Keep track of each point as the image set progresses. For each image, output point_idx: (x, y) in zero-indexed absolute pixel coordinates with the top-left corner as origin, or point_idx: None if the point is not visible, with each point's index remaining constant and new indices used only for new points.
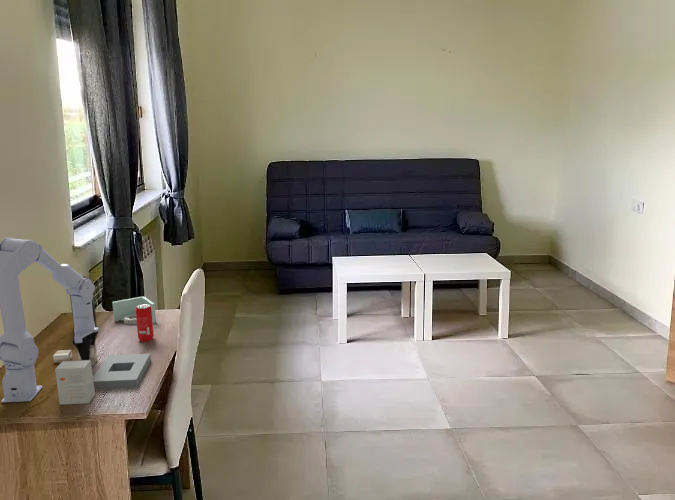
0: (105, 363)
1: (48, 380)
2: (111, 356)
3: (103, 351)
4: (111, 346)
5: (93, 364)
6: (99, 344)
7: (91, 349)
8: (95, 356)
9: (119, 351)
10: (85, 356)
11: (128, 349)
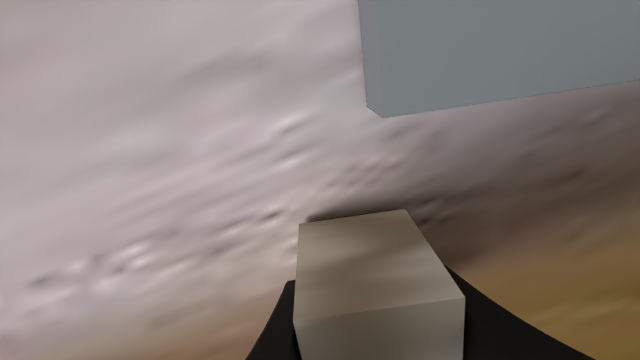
0: (631, 44)
1: (590, 351)
2: (419, 61)
3: (119, 251)
4: (2, 236)
5: (405, 211)
6: (3, 326)
7: (452, 307)
8: (345, 241)
9: (81, 127)
10: None
11: (5, 58)
